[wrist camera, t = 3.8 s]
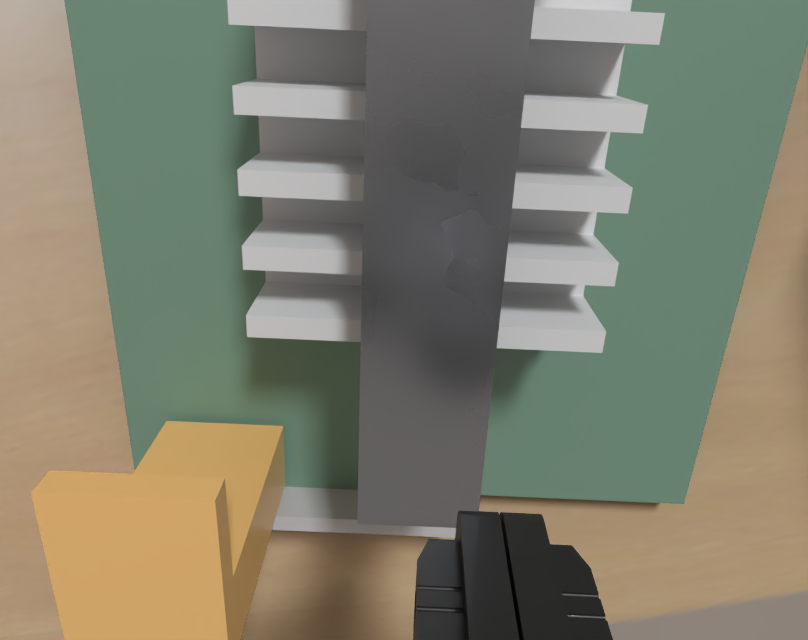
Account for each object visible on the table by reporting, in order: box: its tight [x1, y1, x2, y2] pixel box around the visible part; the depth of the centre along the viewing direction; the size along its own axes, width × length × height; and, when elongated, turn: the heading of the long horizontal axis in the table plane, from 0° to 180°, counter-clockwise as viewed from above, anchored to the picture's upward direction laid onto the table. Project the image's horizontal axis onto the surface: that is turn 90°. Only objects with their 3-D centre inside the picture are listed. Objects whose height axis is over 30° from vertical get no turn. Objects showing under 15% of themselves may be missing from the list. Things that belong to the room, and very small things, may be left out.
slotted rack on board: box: [65, 0, 808, 538], centre depth 16 cm, size 20×25×8 cm
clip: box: [31, 421, 285, 640], centre depth 19 cm, size 4×5×8 cm
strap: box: [357, 0, 535, 528], centre depth 13 cm, size 4×16×1 cm, turn 178°
